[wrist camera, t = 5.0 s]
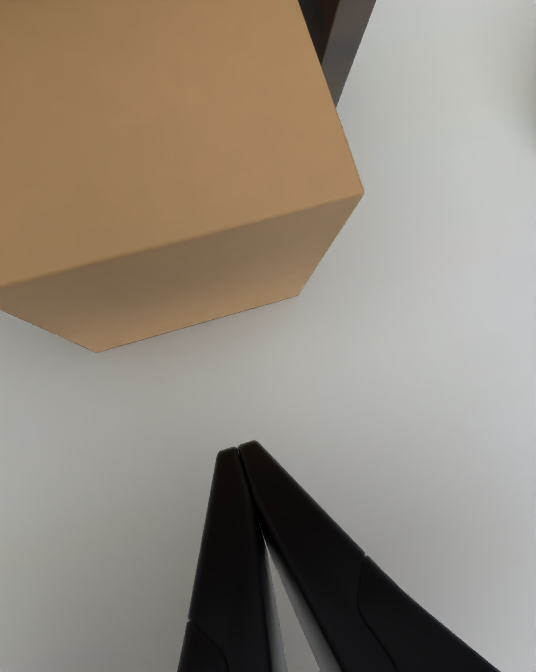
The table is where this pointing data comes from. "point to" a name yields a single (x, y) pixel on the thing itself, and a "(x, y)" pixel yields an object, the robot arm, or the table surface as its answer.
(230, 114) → the box
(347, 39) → the shelf
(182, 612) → the table surface
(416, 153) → the table surface
